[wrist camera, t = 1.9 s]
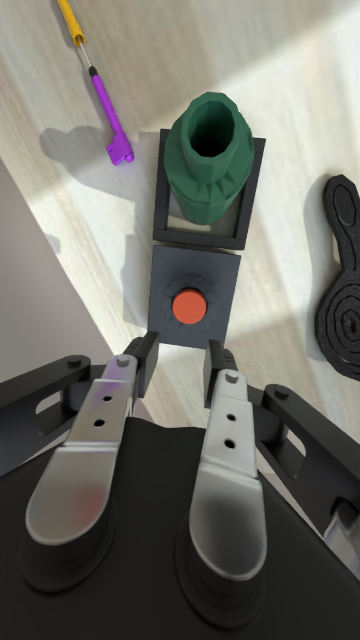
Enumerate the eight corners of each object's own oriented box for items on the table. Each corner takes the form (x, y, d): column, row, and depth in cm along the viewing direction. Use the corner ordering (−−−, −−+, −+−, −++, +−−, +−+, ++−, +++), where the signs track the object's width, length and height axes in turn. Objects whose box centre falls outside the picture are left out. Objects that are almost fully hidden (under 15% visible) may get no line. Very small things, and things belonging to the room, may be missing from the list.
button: (175, 286, 24) (174, 289, 23) (207, 291, 24) (208, 294, 23) (172, 317, 26) (170, 321, 24) (202, 321, 25) (203, 326, 24)
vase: (182, 166, 25) (159, 48, 11) (234, 172, 25) (283, 58, 10) (176, 222, 27) (150, 188, 12) (224, 227, 27) (255, 200, 12)
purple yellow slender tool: (137, 159, 25) (64, -15, 21) (132, 156, 24) (54, -27, 20) (120, 172, 26) (47, 10, 22) (114, 169, 25) (37, -1, 21)
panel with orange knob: (159, 245, 28) (149, 244, 23) (236, 254, 28) (244, 255, 22) (152, 331, 32) (142, 346, 27) (220, 340, 31) (224, 358, 26)
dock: (164, 139, 25) (160, 128, 22) (259, 149, 24) (266, 138, 22) (156, 240, 28) (152, 239, 26) (240, 250, 27) (244, 250, 25)
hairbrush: (395, 151, 21) (410, 377, 26) (367, 167, 24) (385, 363, 30) (305, 182, 22) (336, 391, 28) (291, 193, 26) (321, 376, 31)
